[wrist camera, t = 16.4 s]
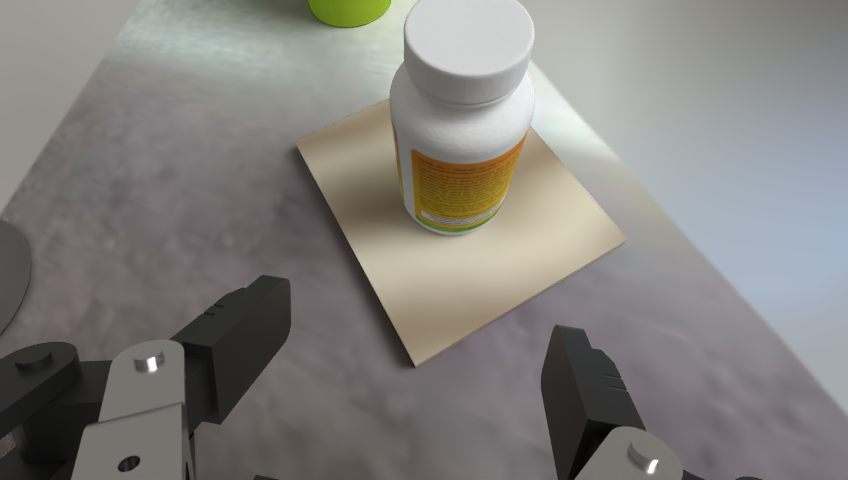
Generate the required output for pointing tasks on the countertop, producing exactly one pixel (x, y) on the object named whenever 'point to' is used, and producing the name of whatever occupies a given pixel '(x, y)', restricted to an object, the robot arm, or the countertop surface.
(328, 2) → the soap dispenser
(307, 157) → the ash board
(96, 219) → the countertop surface
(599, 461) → the robot arm
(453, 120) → the supplement bottle
